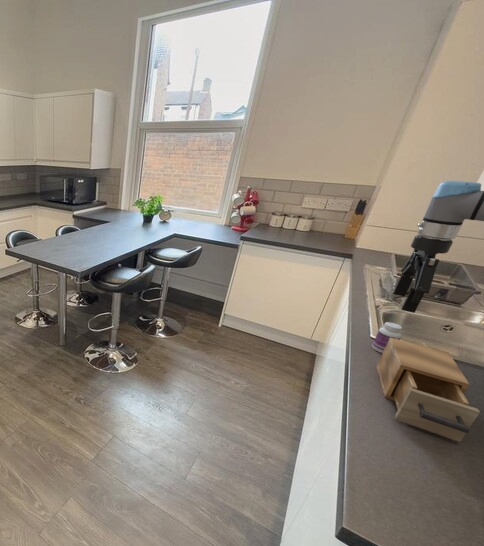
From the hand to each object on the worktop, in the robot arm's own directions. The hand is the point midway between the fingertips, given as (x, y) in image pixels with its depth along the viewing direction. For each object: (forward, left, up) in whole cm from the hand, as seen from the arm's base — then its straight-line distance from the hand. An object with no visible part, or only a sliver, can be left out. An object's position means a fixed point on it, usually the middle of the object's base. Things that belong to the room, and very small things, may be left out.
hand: (403, 302), depth 97 cm
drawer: (-3, +34, -17) cm, 38 cm away
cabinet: (-3, +21, -18) cm, 28 cm away
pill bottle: (0, 0, -18) cm, 18 cm away
